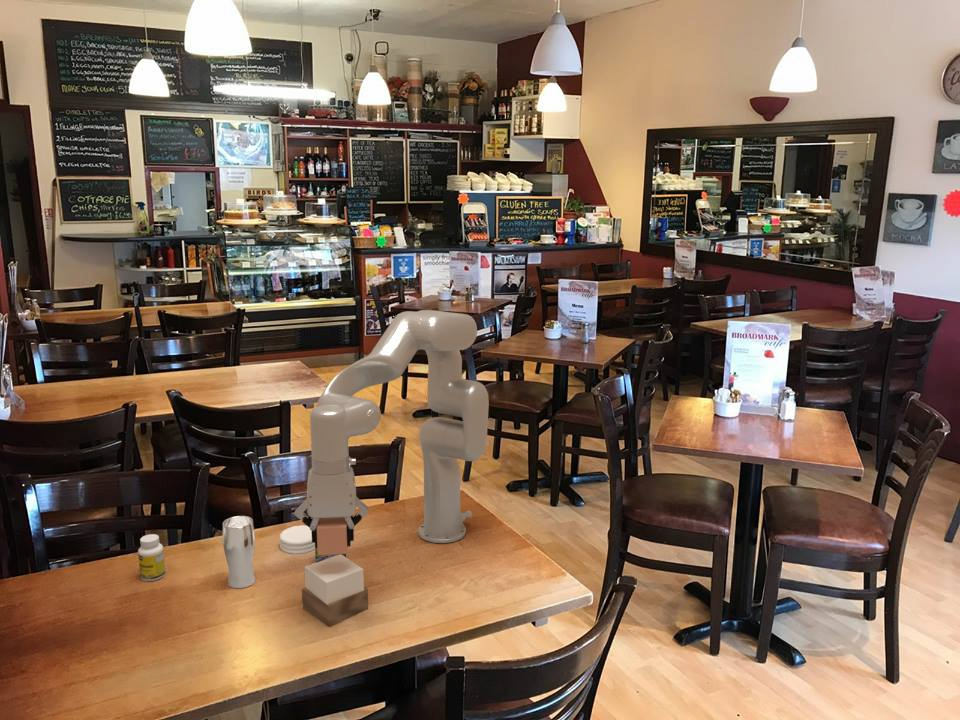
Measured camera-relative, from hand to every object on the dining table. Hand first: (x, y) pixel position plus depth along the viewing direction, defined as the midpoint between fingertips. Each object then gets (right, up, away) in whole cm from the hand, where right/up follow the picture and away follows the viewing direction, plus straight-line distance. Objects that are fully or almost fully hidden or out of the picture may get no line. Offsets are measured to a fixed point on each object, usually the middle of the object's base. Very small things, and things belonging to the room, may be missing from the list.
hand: (333, 543), depth 163 cm
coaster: (-15, -9, +33) cm, 37 cm away
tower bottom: (0, -15, +4) cm, 16 cm away
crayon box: (-5, -10, +24) cm, 27 cm away
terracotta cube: (0, -1, 0) cm, 1 cm away
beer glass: (-24, -12, +14) cm, 31 cm away
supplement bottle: (-45, -12, +16) cm, 49 cm away
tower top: (0, -10, +3) cm, 11 cm away
